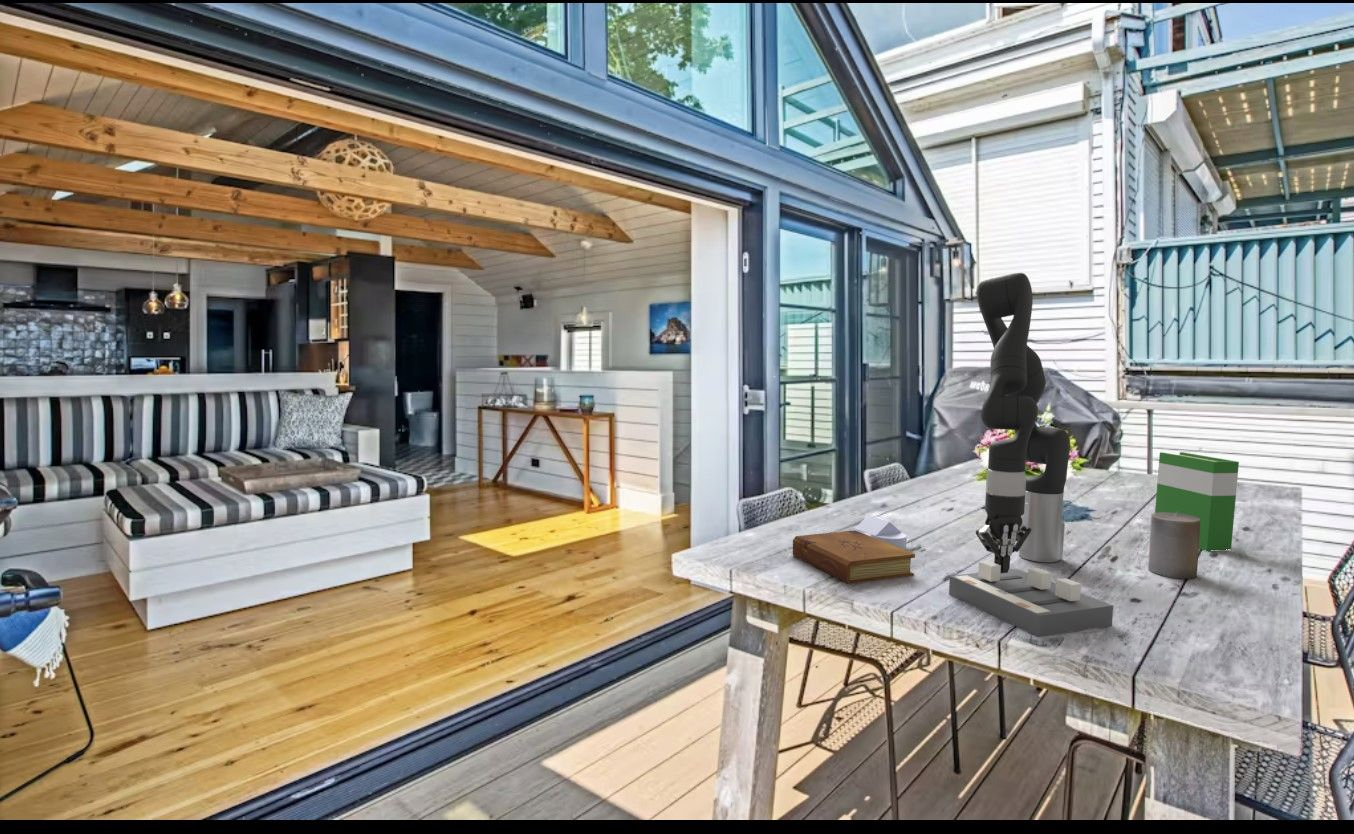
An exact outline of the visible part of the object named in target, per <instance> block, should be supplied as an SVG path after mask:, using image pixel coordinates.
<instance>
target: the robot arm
mask: <svg viewBox="0 0 1354 834" xmlns="http://www.w3.org/2000/svg"><path fill="white" fill-rule="evenodd" d="M976 299H977V303H978V307H979V310H980V313H981V316H982V319H983V321H984V324H985V327H986V330H987V332H988V334H989V335H988V336H989V338H990V340H991V344H992V346H993V350H992V353H991V354H990V355H991V356H990V380H989V382H990V383H989V387H988V391H987V393H986V397H985V398H984V401H983V404H982V406H981V411H980V417H981V418H980V419H981V421H982V423H983V424H984V426H985V427H986V428H988V429H993V430H1009V431H1010V430H1011V431H1012V430H1013V431H1014V435H1013V436H1012V437H1011V438H1007V439H1000V440H995V441H993V442H991V443H990V444H989V447H988V465H987V466H988V467H987V473H986V481H985V500H984V501H985V502H984V503H985V504H984V511H985V513H986V516H987V517H986V518H985V519H986V520H985V522H984V526H983V527H982V528H981V529H979V528H978V529H976V531H975V535H976V536H977V538H978V540H979V542H981V544H982V546H983V547H984V549H985V550H986V551H987V552H988V553H989V552H990V553H992V554H993V555H994V562H993V563H995V564H998V565H1001V572H1000V573H1008V570H1009V569H1010V568H1011V563H1010V562H1011V556H1012V555H1013V553H1014V552H1016V553H1017V552H1018V556H1019V557H1020V558H1023V559H1024V560H1029V561H1033V562H1038V563H1056V562H1059V561H1060V560H1063V559H1064V558H1063V557H1064V556H1063V555H1064V541H1065V540H1064V538H1065V526H1066V525H1065V524H1066V523H1065V521H1063V510H1064V509H1063V508H1064V493H1065V485H1066V481H1067V477H1068V476H1067V475H1068V466H1069V459H1070V450H1071V442H1070V439H1071V438H1070V435H1069V433H1068V432H1067V430H1065V429H1062V428H1057V427H1045V426H1038V425H1037V423H1036V422H1037V418H1038V415H1039V406H1038V403H1039V401H1040V399H1041V397H1042V396H1043V394H1044V392H1045V391H1044V390H1045V389H1046V384H1047V381H1046V375H1045V372H1044V368H1043V365H1042V364H1043V363H1042V360H1041V358H1040V357H1039V355H1038V354H1037V352H1036V351H1035V350H1034V349H1032V348H1031V347H1030V346H1029V345H1028V342H1029V341H1028V340H1029V333H1030V327H1031V320H1032V319H1031V318H1032V312H1033V305H1034V304H1033V301H1034V300H1033V299H1034V298H1033V289H1032V285H1031V282H1030V279H1029V277H1028V276H1027V275H1026V274H1025V273H1024V272H1017V273H1015V272H1014V273H1011V274H1007V275H1006V274H1005V275H1001V276H997V277H992V278H989V279H984V280H982V281H980V282H979V283H978V284H977V286H976ZM1011 316H1013V317H1012V320H1011V322H1010V324H1009V326H1008V327H1007V325H1006V323H1005V322H1004V319H1003V318H1006V317H1011ZM1026 462H1029V463H1034V464H1040V465H1045V467H1044V471H1043V472H1042V473H1040V474H1037V475H1030V476H1027V477H1026Z"/></svg>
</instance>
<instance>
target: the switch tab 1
mask: <svg viewBox="0 0 1354 834" xmlns="http://www.w3.org/2000/svg"><path fill="white" fill-rule="evenodd" d="M1000 572H1001V565H998V564H995V563H994V562H992V561H990V560H982V561H978V571H977V573H978V577H981V578H983V579H986V580H988V581H990V582H992V581H1000Z"/></svg>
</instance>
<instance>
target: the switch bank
mask: <svg viewBox="0 0 1354 834" xmlns="http://www.w3.org/2000/svg"><path fill="white" fill-rule="evenodd" d="M1027 578H1028V571H1027V572H1026V571H1024V570H1021V569H1018V568H1011V569H1010V568H1009V570H1008V573H1000V581H992V582H990V581H988V580H986V579H983V578H981V577H978V572H972V573H965V574H956V575H955V574H954V575H949V585H948V594H949V596H952V597H954V598H955V599H956V598H957V599H958V600H960V599H961V600H960V601H962V600H963V602H965V603H967V604H969V605H971V606H973V607H975V606H976V607H975V608H977V609H979V608H980V609H979V610H982V611H984V612H986V613H987V614H990V615H992V616H994V617H996V618H998V619H1001V620H1002V621H1005V622H1007V623H1008V624H1010V625H1012V626H1015V627H1018V628H1019V629H1021V630H1023V631H1024V632H1025V631H1026V632H1028V633H1029V634H1032V635H1033V636H1035V637H1039V638H1040V637H1046V636H1053V635H1059V634H1067V633H1073V632H1080V631H1086V630H1092V629H1100V628H1106V627H1112V626H1113V618H1114V617H1113V616H1114V605H1113V604H1111V603H1108V602H1105V601H1102V600H1100V599H1098V598H1095V597H1092V596H1090V595H1087V594H1085V593H1083V592H1081V594H1080V600H1077V601H1068V600H1066V599H1063V598H1061V597H1058V596H1056V595H1055V589H1056V582H1053V581H1051V588H1050V589H1042V590H1041V589H1038V588H1036V587H1033V586H1031V585H1028V584H1027Z"/></svg>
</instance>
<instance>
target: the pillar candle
mask: <svg viewBox="0 0 1354 834" xmlns="http://www.w3.org/2000/svg"><path fill="white" fill-rule="evenodd" d="M1177 512H1178V511H1177ZM1177 512H1176V513H1165V512H1161V513H1155V512H1153V513H1150V516H1151V521H1150V533H1149V534H1150V535H1149V549H1148V567H1147V569H1148V571H1149V572H1150V573H1153V574H1157V575H1159V576H1161V577H1166V578H1172V579H1181V580H1182V579H1183V580H1184V579H1187V580H1188V579H1195V578H1197V577H1198V565H1199V564H1198V562H1199V553H1200V551H1199V550H1200V549H1199V537H1200V519H1199V518H1197V517H1194V516H1190V515H1185V514H1179V513H1177Z"/></svg>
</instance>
